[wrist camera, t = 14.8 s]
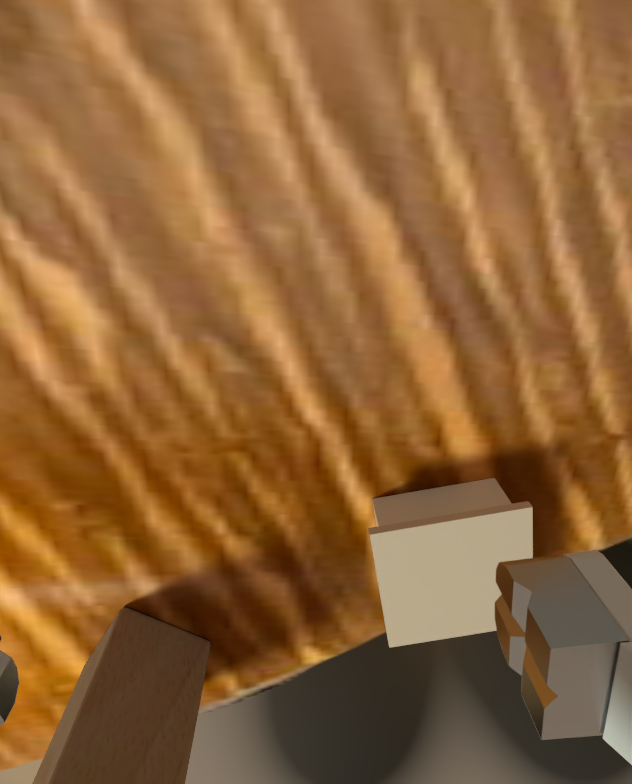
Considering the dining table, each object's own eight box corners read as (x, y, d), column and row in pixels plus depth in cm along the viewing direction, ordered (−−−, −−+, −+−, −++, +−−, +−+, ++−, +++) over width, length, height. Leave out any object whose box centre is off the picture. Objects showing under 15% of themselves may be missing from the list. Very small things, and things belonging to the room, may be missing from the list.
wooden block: (84, 664, 52) (-33, 928, 34) (123, 603, 49) (18, 859, 30) (170, 696, 54) (105, 958, 36) (213, 640, 51) (166, 897, 33)
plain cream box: (503, 466, 44) (532, 507, 39) (507, 574, 49) (533, 624, 44) (360, 491, 45) (369, 534, 39) (379, 595, 50) (389, 647, 44)
